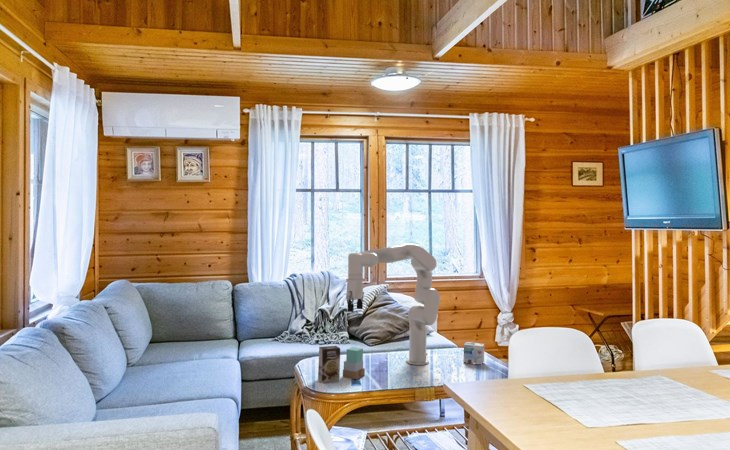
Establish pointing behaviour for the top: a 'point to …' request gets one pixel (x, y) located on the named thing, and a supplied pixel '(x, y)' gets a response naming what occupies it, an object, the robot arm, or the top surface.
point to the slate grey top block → (353, 366)
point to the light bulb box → (473, 353)
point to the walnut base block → (354, 374)
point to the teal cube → (354, 355)
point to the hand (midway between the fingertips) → (355, 310)
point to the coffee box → (329, 364)
